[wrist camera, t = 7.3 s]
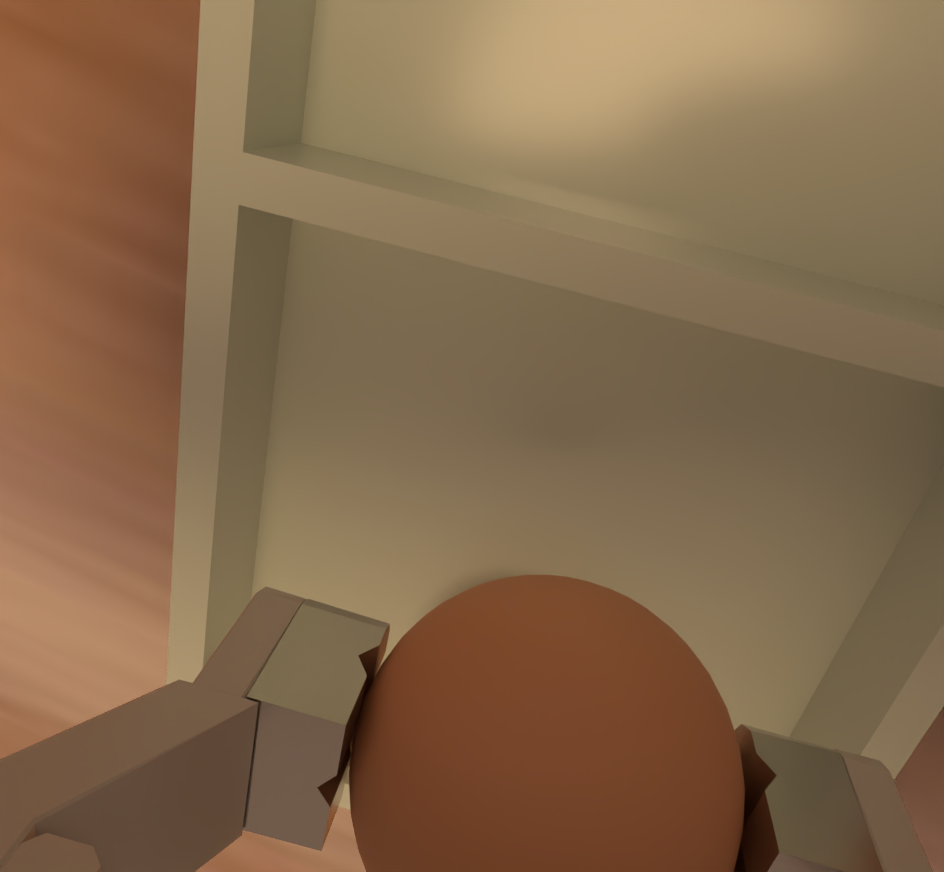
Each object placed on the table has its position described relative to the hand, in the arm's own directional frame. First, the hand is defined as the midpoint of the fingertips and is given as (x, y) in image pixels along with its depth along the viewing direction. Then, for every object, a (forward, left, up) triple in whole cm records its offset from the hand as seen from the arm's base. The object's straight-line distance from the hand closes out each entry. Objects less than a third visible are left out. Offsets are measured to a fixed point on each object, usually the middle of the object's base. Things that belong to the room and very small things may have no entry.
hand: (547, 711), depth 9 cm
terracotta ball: (0, 0, -1) cm, 1 cm away
